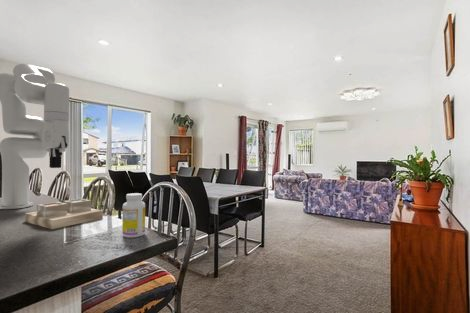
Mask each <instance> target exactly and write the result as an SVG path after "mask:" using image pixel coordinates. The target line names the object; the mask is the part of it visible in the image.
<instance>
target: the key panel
mask: <svg viewBox="0 0 470 313" xmlns="http://www.w3.org/2000/svg"><path fill="white" fill-rule="evenodd" d="M79 200H80V202H72V201H79ZM51 204H59V205H53V206H46V205H51ZM103 214H104V211H103V210H101V209H98V208H97V209H95V208H92V199H86V198H77V199H70V200H69V199H67V200H63V202H62V201H61V202H60V201H54V202H47V203H42V204H41V203H40V204H36V211H34V212H33V211H32V212H26V213H25V214H24V220H25V221H24V222H25V223H29V224H32V225H36V226H39V227H42V228H46V229H49V230H54V229H55V230H56V229H60V228H65V227H70V226H74V225H78V224H83V223H87V222H92V221H96V220H100V219H104V218H103V216H104V215H103Z"/></svg>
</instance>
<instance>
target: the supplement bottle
mask: <svg viewBox="0 0 470 313" xmlns="http://www.w3.org/2000/svg"><path fill="white" fill-rule="evenodd" d="M125 199H126V202H124V203H123V204H122V231H121V232H122V233H121V234H122V236H123V237H124V238H128V239H132V238H133V239H134V238H139V237H142V236H144V235H145V234H146V203H145V202H144V201H142V199H143V194H142V193H139V192H134V193H133V192H132V193H127V194H126V196H125Z"/></svg>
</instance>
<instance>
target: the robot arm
mask: <svg viewBox="0 0 470 313" xmlns="http://www.w3.org/2000/svg"><path fill="white" fill-rule="evenodd" d="M24 102H25V103H29V104H34V105H42V106H43V118H42V117H40V116H39V117H38V116H33V115H28V114H27V108H26V104H25V103H24ZM0 104H1V116H2V118H1V119H2V128H3V131H4V132H5V133H6V134H8V135H12V136H11V137H6V138H3V139H2V140H0V156H1V157H0V158H1V203H0V210H16V209H17V210H18V209H22V208H23V209H24V208H28V207H32V206H34V202H32V201H30V166H29V165H28V164H27V162H26V161H24V160H23V159H43V158H46V157H47V155H48V156H49V168H50V169H59V168H60V169H61V168H62V157H63V153H65V152H66V149H68V147H69V145H70V144H69V143H70V141H69V138H70V137H69V120H70V118H69V117H70V115H69V114H70V111H69V110H70V89H69V86H67V85H65V84H63V83H60V82H59V83H58V82H56V78H55V74H54V72H53V71H51V70H50V69H49V68H45V67H40V66H37V65H33V64H28V63H19V64H16V65H15V66H14V67H13V70H12V73H8V72H7V73H5V72H3V73H0ZM14 136H15V137H14ZM17 136H23V137H17ZM24 136H26V137H24Z"/></svg>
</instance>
